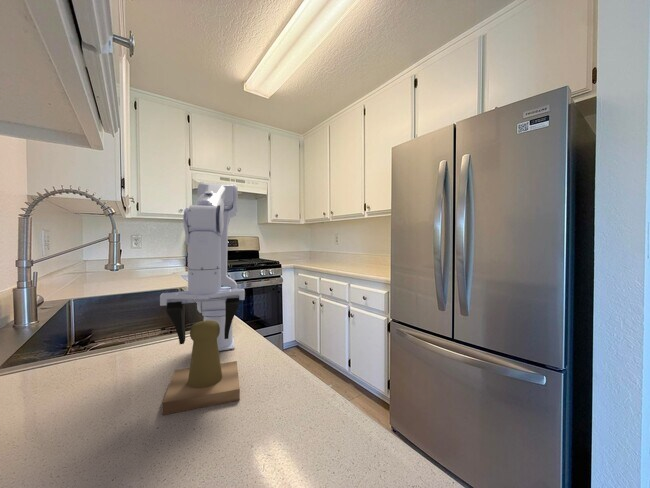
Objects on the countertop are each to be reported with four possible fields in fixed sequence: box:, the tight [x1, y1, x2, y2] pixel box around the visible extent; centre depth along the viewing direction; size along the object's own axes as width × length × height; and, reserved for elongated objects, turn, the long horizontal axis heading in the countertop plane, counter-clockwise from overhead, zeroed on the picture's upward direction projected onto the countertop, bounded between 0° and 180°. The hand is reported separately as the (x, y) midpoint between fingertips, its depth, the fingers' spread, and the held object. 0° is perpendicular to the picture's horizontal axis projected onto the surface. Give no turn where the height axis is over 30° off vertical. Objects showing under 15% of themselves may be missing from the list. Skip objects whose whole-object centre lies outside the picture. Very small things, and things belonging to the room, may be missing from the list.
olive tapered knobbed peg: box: [188, 320, 222, 388], centre depth 52 cm, size 6×6×11 cm
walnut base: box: [162, 360, 241, 416], centre depth 52 cm, size 12×12×2 cm
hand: (205, 339), depth 52 cm, fingers open, 7 cm apart
